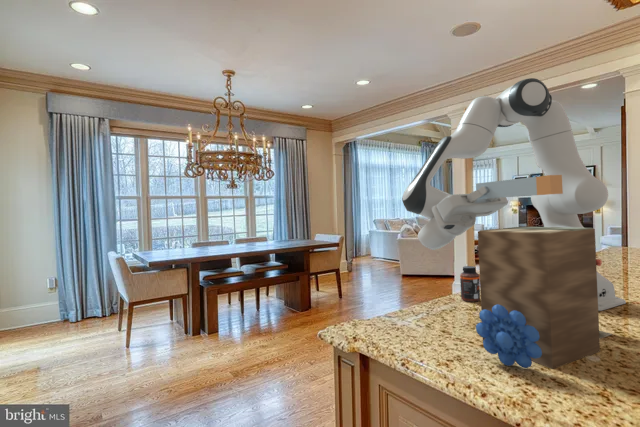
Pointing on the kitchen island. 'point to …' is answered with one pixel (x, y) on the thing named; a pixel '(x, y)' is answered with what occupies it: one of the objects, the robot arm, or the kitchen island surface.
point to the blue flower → (508, 336)
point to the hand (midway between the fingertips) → (494, 188)
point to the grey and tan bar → (523, 187)
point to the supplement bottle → (470, 284)
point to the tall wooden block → (545, 286)
